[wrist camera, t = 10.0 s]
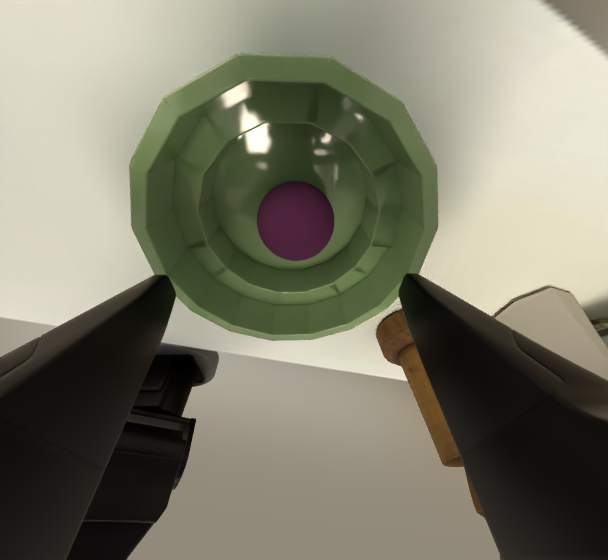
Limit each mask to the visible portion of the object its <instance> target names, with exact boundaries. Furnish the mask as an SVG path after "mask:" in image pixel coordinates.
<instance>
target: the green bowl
mask: <svg viewBox="0 0 608 560" xmlns="http://www.w3.org/2000/svg"><path fill="white" fill-rule="evenodd" d="M129 173H130V202H131V226H132V230H133V232H134V234H135V236H136V238H137V240H138V242H139V244H140V246H141V248H142V250H143V252H144V254H145V256H146V258H147V260H148V262H149V264H150V266H151V268H152V270H153V272H154V274H155V275H167V276H168V277H169V278H170V280H171V282H172V285H173V287H174V289H175V292H176V297H177V298H179V299H180V300H181V301H182V302H183V303H184V304H185V305H186V306H187V307H188V308H189V309H190V310H192V311H193V312H195V313H196V314H198V315H200V316H202V317H204V318H206V319H208V320H210V321H212V322H214V323H216V324H218V325H219V326H221V327H223V328H225V329H227V330H229V331H232V332H236V333H240V334H245V335H249V336H253V337H258V338H262V339H266V340H272V341H275V340H311V339H312V340H313V339H317V338H320V337H324V336H328V335H332V334H335V333H339V332H343V331H346V330H350V329H353V328H354V327H356V326H358V325H359V324H361V323H363V322H365V321H366V320H368V319H370V318H371V317H373V316H375V315H377V314H378V313H380V312H382V311H383V310H385V309H387V308H388V307H389V306H390V305H391V304H392V303H393V302H394V301H395V300H396V298H397V297H398V296H399V288H400V285H401V282H402V280H403V277H404V275H405V274H407V273H417V274H419V272H420V269H421V267H422V265H423V262H424V260H425V257H426V255H427V253H428V250H429V248H430V246H431V243H432V241H433V238H434V236H435V234H436V231H437V227H438V187H437V165H436V164H435V162H434V160H433V158H432V156H431V154H430V152H429V150H428V149H427V147H426V145H425V143H424V141H423V139H422V137H421V135H420V133H419V132H418V130H417V128H416V126H415V124H414V122H413V120H412V118H411V117H410V115H409V113H408V111H407V109H406V107H405V105H404V104H403V103H402V101H400V100H398V99H397V98H395V97H394V96H392V95H391V94H389V93H388V92H386V91H384V90H383V89H381V88H380V87H378V86H377V85H375V84H373V83H372V82H370V81H369V80H367V79H366V78H364V77H363V76H361V75H359V74H358V73H356V72H355V71H353V70H352V69H350V68H348V67H347V66H345V65H344V64H342V63H341V62H339V61H338V60H336V59H334V58H333V57H329V56H315V55H283V54H252V53H240V54H239V55H238V54H236V55H234V56H232V57H230V58H229V59H227V60H225V61H224V62H222V63H220V64H219V65H217V66H215V67H213V68H212V69H210V70H208V71H207V72H205V73H203V74H201V75H200V76H198V77H196V78H195V79H193V80H191V81H189V82H188V83H186V84H184V85H183V86H181V87H179V88H178V89H176V90H174V91H172V92H171V93H169V94H167V95H166V96H165V97H164V98H163V99H162V101H161V102H160V104H159V106H158V108H157V110H156V112H155V114H154V116H153V118H152V120H151V122H150V124H149V126H148V128H147V130H146V132H145V133H144V135H143V137H142V139H141V141H140V143H139V145H138V147H137V149H136V151H135V153H134V155H133V157H132V159H131V161H130V165H129ZM288 181H302V182H306V183H309V184H312V185H314V186H315V187H317V188H318V189H319V190H321V191H322V192H323V193H324V194H325V196H326V197H327V198H328V200H329V202H330V203H331V206H332V209H333V213H334V230H333V234H332V237H331V239H330V241H329V243H328V244H327V245H326V247H325V248H324V249H323V250H322V251H321V252H320V253H319V254H317V255H316V256H314V257H312V258H309V259H306V260H302V261H290V260H286V259H283V258H280V257H278V256H276V255H275V254H273V253H272V252H271V251H270V250H269V249H268V248H267V247H266V246H265V244H264V243H263V241H262V240H261V238H260V235H259V232H258V228H257V213H258V209H259V206H260V204H261V202H262V200H263V198H264V197H265V195H266V194H267V193H268V192H269V191H270V190H271V189H273V188H274V187H275V186H277V185H279V184H281V183H284V182H288Z"/></svg>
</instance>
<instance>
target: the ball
mask: <svg viewBox="0 0 608 560" xmlns="http://www.w3.org/2000/svg"><path fill="white" fill-rule="evenodd" d="M257 228H258V232H259V235H260V238H261V240H262V241H263V243H264V244H265V246H266V247H267V248H268V249H269V250H270V251H271V252H272V253H273V254H275V255H276V256H278V257H280V258H283V259H286V260H290V261H302V260H306V259H309V258H312V257H314V256H316V255H317V254H319V253H320V252H321V251H322V250H323V249H324V248H325V247H326V245H327V244H328V243H329V241H330V239H331V237H332V234H333V230H334V213H333V209H332V206H331V203H330V202H329V200H328V198H327V197H326V196H325V194H324V193H323V192H322V191H321V190H319V189H318V188H317V187H315V186H314V185H312V184H309V183H306V182H302V181H288V182H284V183H281V184H279V185H277V186H275V187H274V188H273V189H271V190H270V191H269V192H268V193H267V194H266V195H265V197H264V198H263V200H262V202H261V204H260V206H259V209H258V213H257Z"/></svg>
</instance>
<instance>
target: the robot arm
mask: <svg viewBox="0 0 608 560" xmlns="http://www.w3.org/2000/svg"><path fill="white" fill-rule="evenodd" d="M175 298H176V292H175V289H174V287H173V285H172V282H171V280H170V278H169V277H168V276H167V275H153V276H152V277H150V278H148V279H146V280H144V281H142V282H140V283H139V284H137V285H135V286H133V287H131V288H129V289H127V290H125V291H124V292H122V293H120V294H118V295H116V296H114V297H112V298H111V299H109V300H107V301H105V302H103V303H101V304H99V305H97V306H96V307H94V308H92V309H90V310H88V311H86V312H84V313H83V314H81V315H79V316H77V317H75V318H73V319H71V320H69V321H68V322H66V323H64V324H62V325H60V326H58V327H57V328H55V329H53V330H51V331H49V332H47V333H45V334H43V335H42V336H41V337H38V338H36V339H34V340H32V341H30V342H29V343H26V344H25V345H23V346H21V347H19V348H17V349H15V350H13V351H11V352H9V353H8V354H6V355H4V356H2V357H0V560H127V558H128V556H129V555H130V554H131V552H132V551H133V550H134V549H135V547H136V546H137V545H138V543H139V542H140V541H141V540H142V538H143V537H144V536H145V534H146V533H147V531H148V530H149V529H150V528H151V527H152V525H153V524H154V523H156V522H157V520H158V519H159V518H160V516H161V515H162V513H163V512H164V510H165V509H166V507H167V505H168V501H169V497H170V494H171V491H172V490H174V489H175V488H176V486H177V485H178V483H179V481H180V479H181V477H182V474H183V471H184V469H185V466H186V463H187V460H188V456H189V451H190V446H191V442H192V437H193V432H194V427H195V423H196V419H194V418H191V419H189V418H184V417H182V414H183V411H184V408H185V405H186V402H187V400H188V397H189V394H190V391H191V388H192V386H193V383H204V380H205V378H204V376H203V374H202V372H201V370H200V368H199V366H198V364H197V362H196V360H195V358H194V356H193V355H189V354H187V355H155V354H156V352H157V349H158V347H159V345H160V343H161V340H162V338H163V336H164V333H165V330H166V327H167V324H168V321H169V318H170V314H171V311H172V308H173V304H174V301H175ZM399 298H400V301H401V305H402V309H403V312H404V316H405V319H406V323H407V326H408V329H409V332H410V334H411V337H412V339H413V342H414V344H415V347H416V349H417V352H418V354H419V357H420V359H421V361H422V364H423V366H424V369H425V371H426V374H427V376H428V379H429V381H430V384H431V386H432V388H433V391H434V393H435V396H436V398H437V401H438V403H439V406H440V408H441V410H442V413H443V415H444V418H445V420H446V423H447V425H448V428H449V430H450V433H451V435H452V437H453V440H454V442H455V445H456V447H457V450H458V452H459V454H460V455H461V456H460V458H461V460H462V462H463V465H464V467H465V470H466V472H467V475H468V477H469V480H470V482H471V484H472V487H473V489H474V492H475V494H476V497H477V499H478V502H479V504H480V507H481V509H482V511H483V514H484V516H485V519H486V521H487V524H488V526H489V529H490V531H491V533H492V536H493V538H494V541H495V543H496V545H497V548H498V551H499V553H500V555H501V557H502V559H503V560H608V380H606V379H604V378H602V377H600V376H599V375H597V374H595V373H593V372H591V371H589V370H587V369H585V368H583V367H581V366H579V365H577V364H575V363H574V362H572V361H570V360H568V359H566V358H564V357H562V356H560V355H558V354H557V353H555V352H553V351H551V350H549V349H547V348H545V347H544V346H542V345H540V344H538V343H536V342H535V341H533V340H531V339H529V338H528V337H526V336H524V335H522V334H521V333H519V332H517V331H516V330H512V329H511V328H510V327H509V326H507V325H505V324H503V323H502V322H500V321H498V320H496V319H495V318H493V317H491V316H490V315H488V314H486V313H484V312H483V311H481V310H479V309H477V308H476V307H474V306H472V305H471V304H469V303H467V302H465V301H464V300H462V299H460V298H459V297H457V296H455V295H453V294H452V293H450V292H448V291H446V290H445V289H443V288H441V287H440V286H438V285H436V284H434V283H433V282H431V281H429V280H427V279H426V278H424V277H422V276H421V275H419V274H417V273H407V274H405V275H404V277H403V280H402V282H401V285H400V288H399Z"/></svg>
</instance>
